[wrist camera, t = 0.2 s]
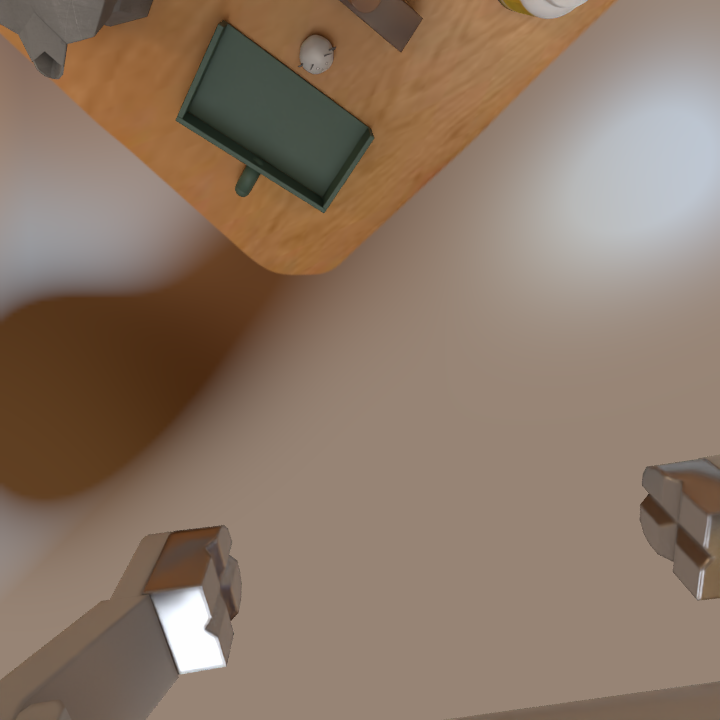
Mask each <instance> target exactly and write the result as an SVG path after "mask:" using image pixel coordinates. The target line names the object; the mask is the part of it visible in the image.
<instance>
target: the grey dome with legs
mask: <svg viewBox="0 0 720 720" xmlns="http://www.w3.org/2000/svg"><path fill="white" fill-rule="evenodd" d="M335 48H336V47H335ZM335 48H334V47H332V45H331V43H330V42H329V41H328V40H327V39H326V38H324V37H322V36H319V35H312V36H309V37H308V38H307V39H306V40H305V41H304V42H303V44H302V46H301V49H300V62H301V65H300V66H298V67H301V66H303V67H304V69H305V70H306V71H308V72H310V73H312V74H319V73H322V72H324V71H326V70H327V69H329V68H330V66H331V65H332V62H333V58H334V53H333V50H334V49H335Z"/></svg>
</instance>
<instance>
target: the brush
mask: <svg viewBox="0 0 720 720" xmlns="http://www.w3.org/2000/svg"><path fill="white" fill-rule="evenodd" d="M339 1H341V2H342V3H343V4H344V5H345V6H347V7H348V8H349V9H350V10H351V11H352V12H354V13H355V14H356V15H357V16H358V17H360V18H361V19H362V20H363V21H364V22H366V23H367V24H368V25H369V26H370V27H371V28H373V29H374V30H375V31H376V32H377V33H379V34H380V35H381V36H382V37H383V38H384V39H386V40H387V41H388V42H389V43H390V44H392V45H393V46H394V47H395V48H396V49H398V50H399V51H400V52H402V50H403V49H404V47H405V46H406V44H407V43H408V41H409V39H410V38H411V36H412V35H413V33H414V32H415V30H416V28H417V27H418V25H419V24H420V22H421V21H422V19H423V18H422V17H421V16H420V15H418V14H417V13H416V12H415V11H414V10H413V9H412V8H411V7H410V6H408V5H407V4H406V3H405V2H404V1H403V0H339Z"/></svg>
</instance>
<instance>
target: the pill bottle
mask: <svg viewBox="0 0 720 720" xmlns="http://www.w3.org/2000/svg"><path fill="white" fill-rule="evenodd" d="M498 1H499V2H500V3H501V4H502V5H503V6H504V7H505V8H507V9H509V10H511V11H514V12H518V13H522V14H526V15H531V16H535V17H539V18H545V19H552V18H558V17H561V16H563V15H565V14H567V13H569V12H570V11H572V10H573V9H575V8H576V7H577V6H580V5H581V4H583V3H585V2H586V1H588V0H498Z"/></svg>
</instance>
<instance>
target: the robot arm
mask: <svg viewBox="0 0 720 720" xmlns="http://www.w3.org/2000/svg"><path fill="white" fill-rule="evenodd" d="M642 486H643V487H644V488H645V490H646V491H647V492H648V493H649V494H648V496H647V497H646V498H645V499H644V501H643V502H642V503H641V504H640V522H641V525H642V529H643V533H644V535H645V537H646V539H647V541H648V542H649V544H650V545H651V547H652V548H653V549H654V550H655V551H656V553H657V554H659V555H660V556H663V557H665V558H667V559H669V560H671V561H673V562H674V565H673V573H674V574H675V575H676V576H677V577H678V578H679V580H680V581H681V582H682V583H683V584H684V585H685V587H686V588H687V589H688V590H689V591H690V592H691V593H692V595H693V596H694V597H695V598H696V599H697V600H706V599H715V598H720V455H715V456H709V457H703V458H699V459H696V460H689V461H683V462H675V463H668V464H662V465H655V466H648V467H646V469H645V471H644V473H643V479H642ZM231 545H232V540H231V537H230V534H229V531H228V528H227V527H225V526H224V525H221V526H213V527H205V528H196V529H187V530H179V531H174V532H164V533H156V534H149V535H147V536H145V537H144V538H143V539H142V540H141V542H140V544H139V546H138V548H137V550H136V552H135V553H134V555H133V557H132V559H131V561H130V563H129V565H128V566H127V568H126V570H125V572H124V574H123V576H122V578H121V580H120V581H119V583H118V585H117V587H116V589H115V591H114V593H113V595H112V596H111V598H110V600H106V601H101V602H100V603H98V604H97V605H96V606H94V607H93V608H92V609H91V610H89V611H88V612H87V613H86V614H84V615H83V616H82V617H80V618H79V619H78V620H76V621H75V622H74V623H73V624H71V625H70V626H69V627H68V628H66V629H65V630H64V631H62V632H61V633H60V634H59V635H57V636H56V637H55V638H53V639H52V640H51V641H50V642H49V643H47V644H46V645H44V646H43V647H42V648H41V649H39V650H38V651H37V652H36V653H34V654H33V655H32V656H31V657H29V658H28V659H27V660H25V661H24V662H23V663H22V664H20V665H19V666H18V667H16V668H15V669H14V670H13V671H11V672H10V673H9V674H8V675H6V676H5V677H4V678H2V679H1V680H0V720H146V718H147V717H148V716H149V714H150V713H151V712H152V711H153V709H154V708H155V707H156V706H157V704H158V703H159V702H160V700H161V699H162V698H163V697H164V695H165V694H166V693H167V692H168V690H169V689H170V688H171V686H172V685H173V684H174V683H175V681H176V680H177V679H178V674H184V673H190V672H196V671H202V670H208V669H213V668H219V667H225V666H227V662H228V658H229V653H230V649H231V644H232V640H233V635H234V632H233V628H232V625H231V620H232V619H233V618H234V617H235V616H236V615H237V614H238V612H239V607H240V602H241V584H242V583H241V576H240V569H239V566H238V562H237V560H236V559H234V558H233V557H232V556H230V555H229V552H230V549H231ZM447 720H720V681H719V682H711V683H704V684H697V685H690V686H683V687H675V688H668V689H661V690H654V691H646V692H639V693H632V694H625V695H617V696H611V697H603V698H596V699H589V700H582V701H575V702H568V703H560V704H554V705H546V706H539V707H532V708H525V709H517V710H510V711H503V712H497V713H489V714H482V715H475V716H468V717H460V718H453V719H447Z"/></svg>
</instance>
